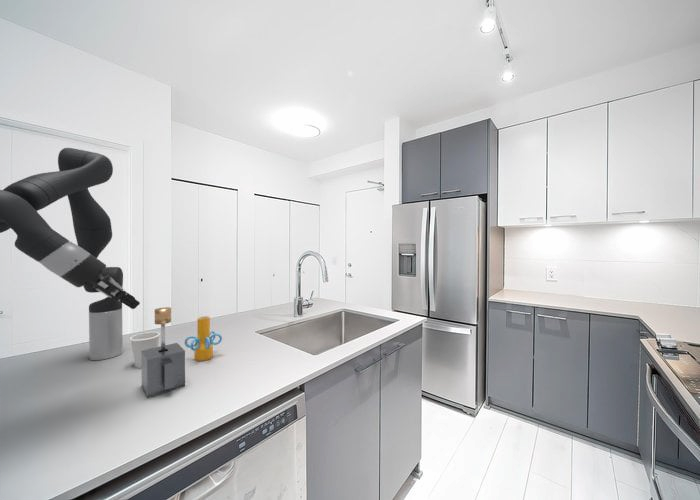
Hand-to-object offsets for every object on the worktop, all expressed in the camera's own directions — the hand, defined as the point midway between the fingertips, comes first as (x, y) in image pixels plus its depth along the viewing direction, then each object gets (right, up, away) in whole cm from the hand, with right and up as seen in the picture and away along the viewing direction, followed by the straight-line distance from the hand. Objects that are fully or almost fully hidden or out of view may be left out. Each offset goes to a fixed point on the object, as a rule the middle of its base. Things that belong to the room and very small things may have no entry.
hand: (134, 303), depth 74 cm
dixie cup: (-12, -25, +20) cm, 34 cm away
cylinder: (+5, -25, +25) cm, 36 cm away
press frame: (+5, -25, +4) cm, 26 cm away
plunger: (+4, -18, +5) cm, 19 cm away
